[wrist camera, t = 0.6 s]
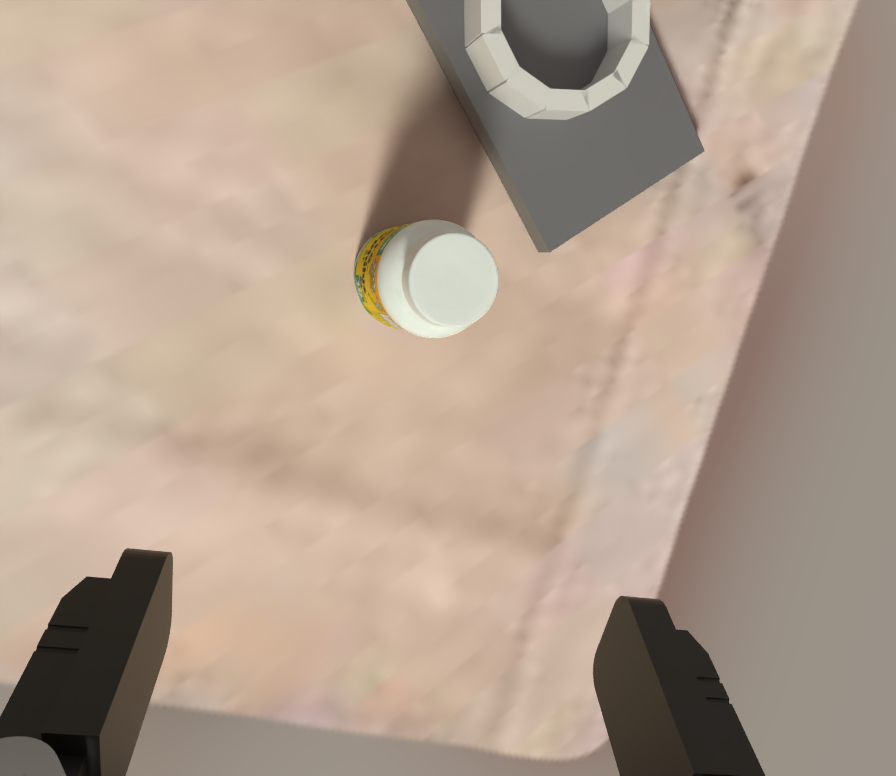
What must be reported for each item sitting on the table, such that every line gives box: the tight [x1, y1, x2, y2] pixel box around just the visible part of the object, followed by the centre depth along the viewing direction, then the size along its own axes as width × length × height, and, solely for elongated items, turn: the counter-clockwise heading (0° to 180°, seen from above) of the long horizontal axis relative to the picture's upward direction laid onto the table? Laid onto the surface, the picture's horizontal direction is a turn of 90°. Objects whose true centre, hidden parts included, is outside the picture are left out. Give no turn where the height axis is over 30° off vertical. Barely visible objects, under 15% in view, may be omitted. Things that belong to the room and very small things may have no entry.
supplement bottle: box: [354, 219, 499, 338], centre depth 36 cm, size 5×5×10 cm
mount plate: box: [406, 0, 704, 252], centre depth 40 cm, size 16×11×4 cm
